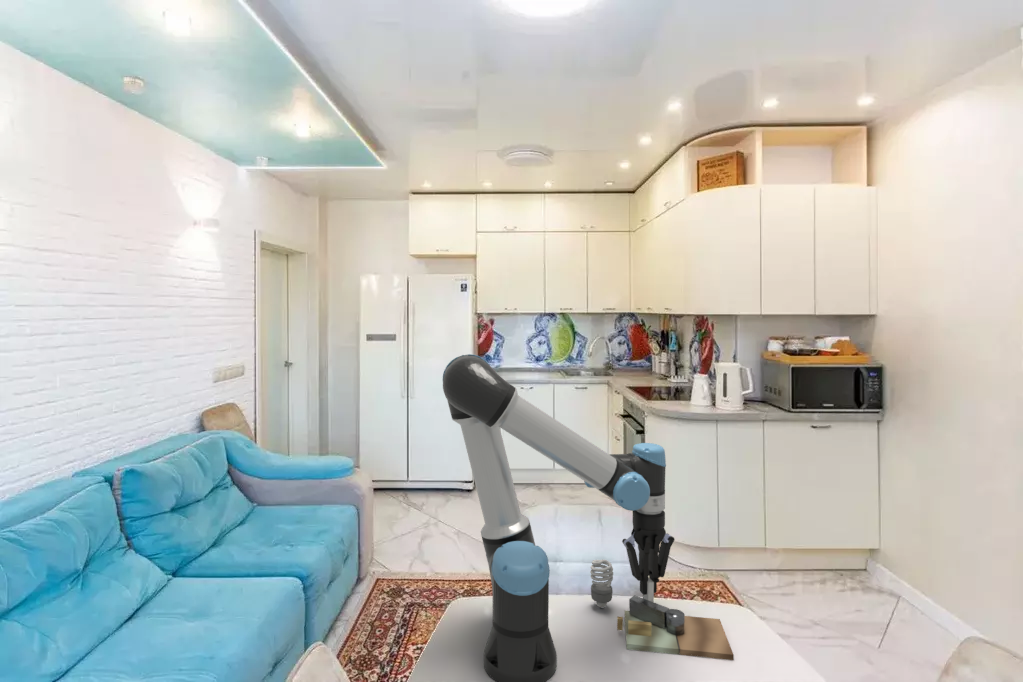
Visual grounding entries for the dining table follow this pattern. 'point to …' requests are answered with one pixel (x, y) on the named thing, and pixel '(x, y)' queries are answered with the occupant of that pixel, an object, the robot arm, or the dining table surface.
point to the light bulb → (601, 590)
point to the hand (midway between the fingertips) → (648, 606)
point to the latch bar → (657, 614)
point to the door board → (678, 637)
